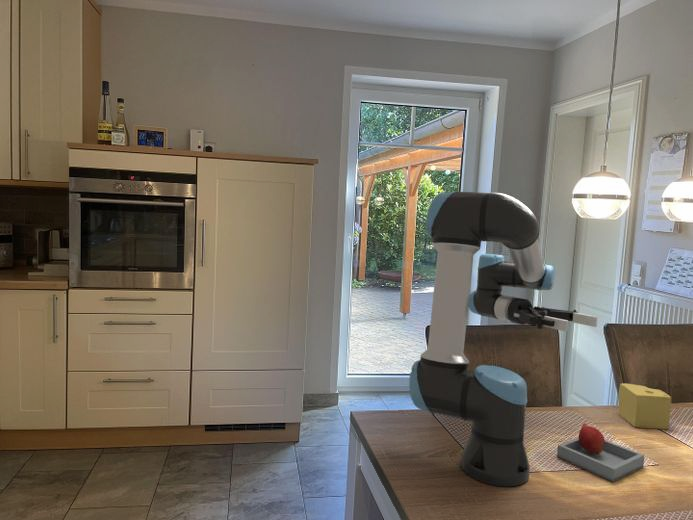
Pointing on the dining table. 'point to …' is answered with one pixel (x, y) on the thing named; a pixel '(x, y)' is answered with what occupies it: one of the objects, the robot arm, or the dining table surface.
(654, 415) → the cheese
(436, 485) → the dining table surface
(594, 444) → the onion
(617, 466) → the tray
